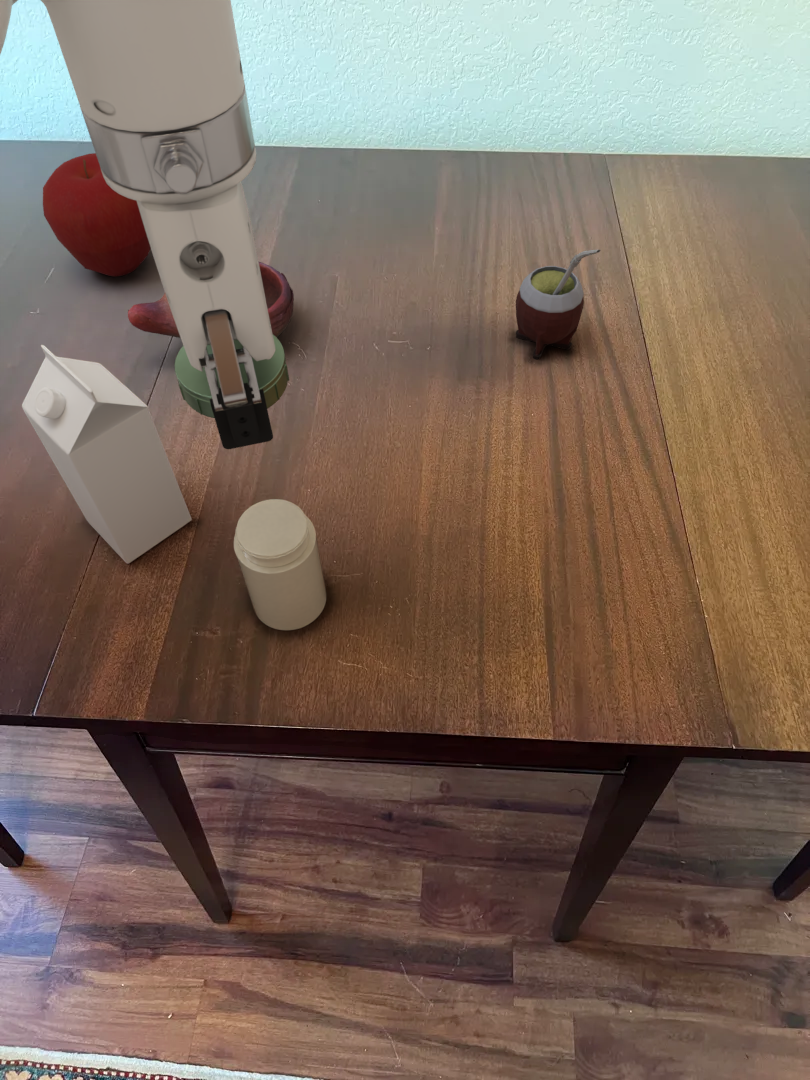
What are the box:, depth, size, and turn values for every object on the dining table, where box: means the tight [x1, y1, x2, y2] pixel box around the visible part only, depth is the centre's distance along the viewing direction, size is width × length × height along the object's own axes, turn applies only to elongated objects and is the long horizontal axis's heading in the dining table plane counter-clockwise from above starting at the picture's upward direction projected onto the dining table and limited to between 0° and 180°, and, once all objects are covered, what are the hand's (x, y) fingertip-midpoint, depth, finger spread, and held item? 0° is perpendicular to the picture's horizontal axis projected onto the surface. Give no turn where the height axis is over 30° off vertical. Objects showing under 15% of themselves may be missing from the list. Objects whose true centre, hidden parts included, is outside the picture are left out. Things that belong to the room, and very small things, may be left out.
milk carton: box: [21, 344, 193, 565], centre depth 65 cm, size 7×7×19 cm
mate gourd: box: [515, 249, 602, 360], centre depth 81 cm, size 8×8×15 cm
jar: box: [233, 498, 327, 631], centre depth 64 cm, size 6×6×11 cm
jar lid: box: [174, 335, 290, 419], centre depth 50 cm, size 7×7×2 cm
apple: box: [42, 152, 151, 277], centre depth 90 cm, size 12×12×13 cm
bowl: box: [127, 261, 295, 339], centre depth 84 cm, size 16×13×8 cm
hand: (239, 399), depth 52 cm, fingers closed on jar lid, 6 cm apart
